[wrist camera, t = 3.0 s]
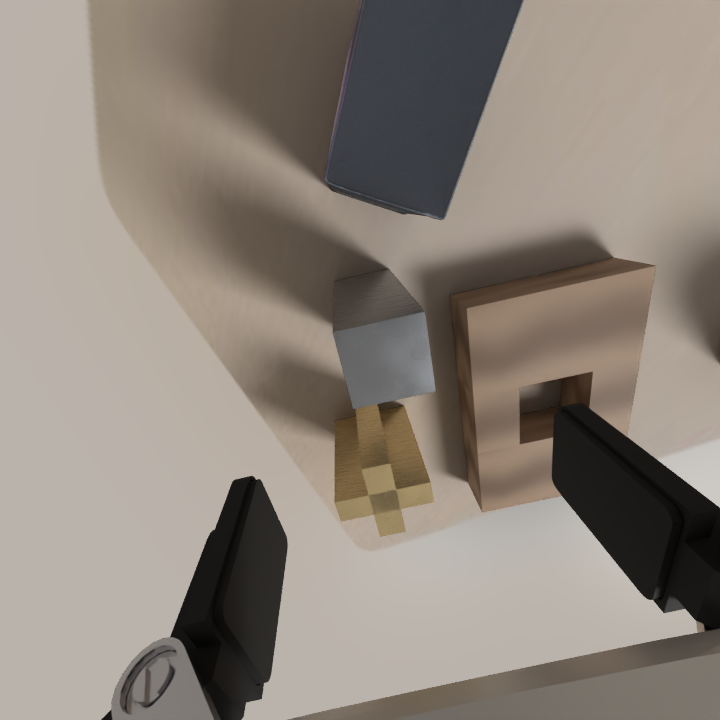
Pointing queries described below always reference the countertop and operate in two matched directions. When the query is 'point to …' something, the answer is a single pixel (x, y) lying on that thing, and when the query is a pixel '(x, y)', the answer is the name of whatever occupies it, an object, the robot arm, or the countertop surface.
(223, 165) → the countertop surface
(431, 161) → the small box
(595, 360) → the socket block
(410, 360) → the square bit
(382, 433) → the cross bit
